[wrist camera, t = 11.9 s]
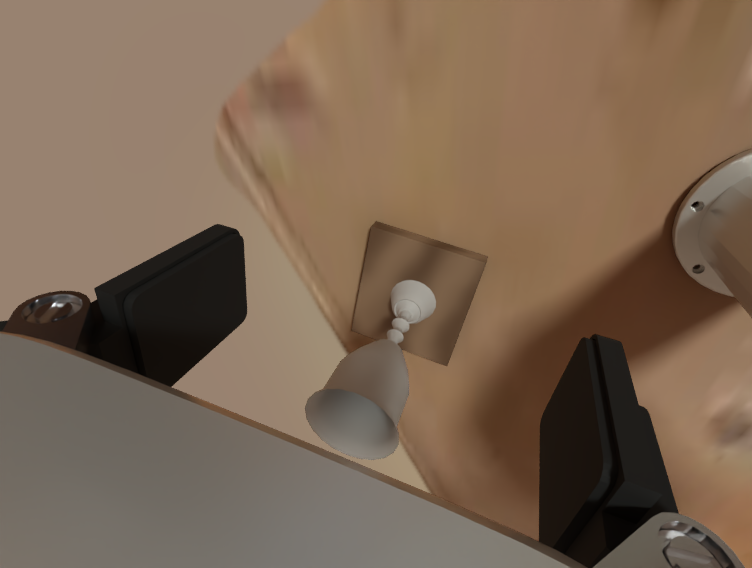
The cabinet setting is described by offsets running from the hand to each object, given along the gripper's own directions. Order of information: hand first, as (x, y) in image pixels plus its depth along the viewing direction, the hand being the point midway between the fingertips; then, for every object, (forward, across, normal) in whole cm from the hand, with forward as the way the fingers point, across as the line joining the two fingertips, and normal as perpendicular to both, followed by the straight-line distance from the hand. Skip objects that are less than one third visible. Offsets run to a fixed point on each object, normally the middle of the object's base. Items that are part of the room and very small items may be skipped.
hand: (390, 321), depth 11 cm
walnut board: (+30, +4, +18) cm, 35 cm away
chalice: (+28, +4, +18) cm, 34 cm away
